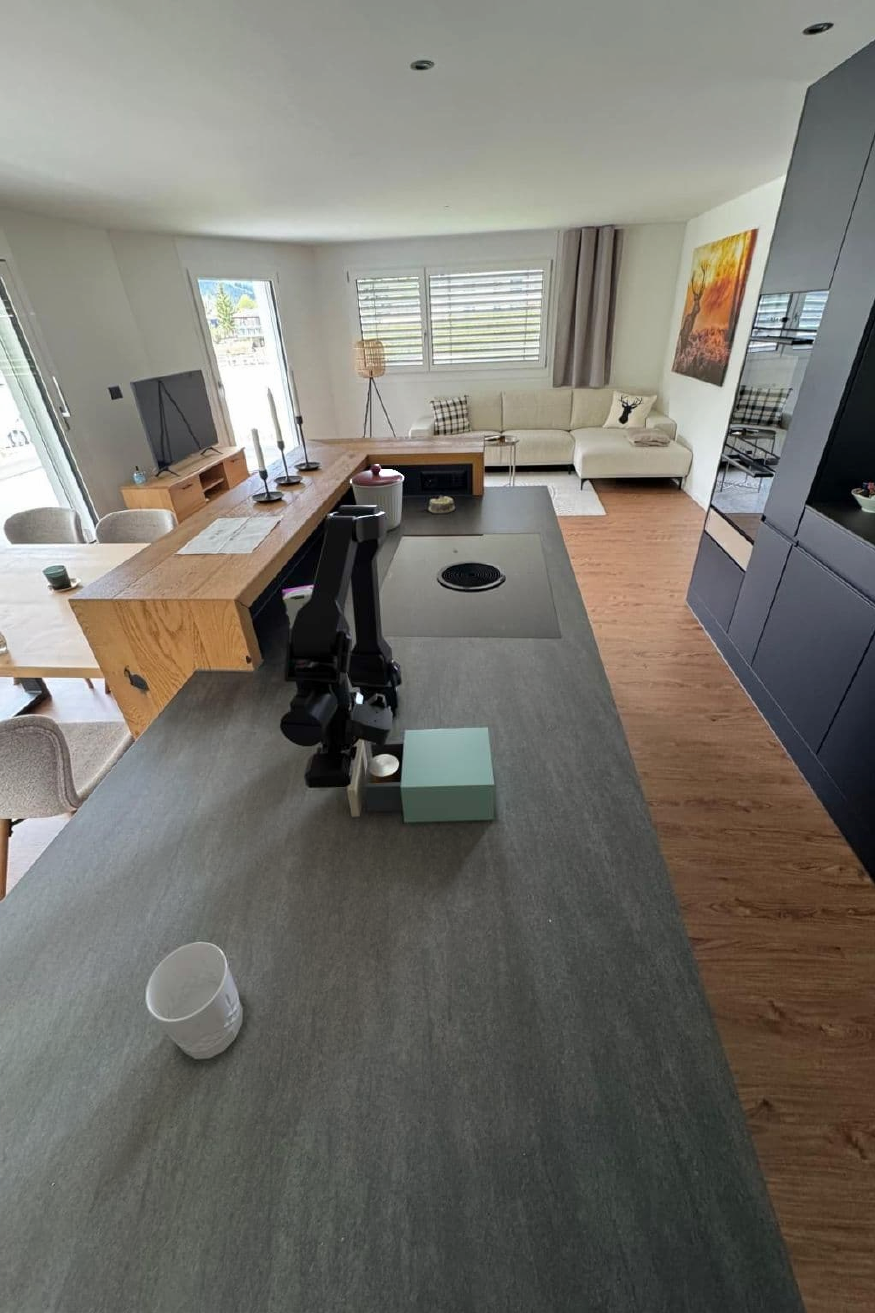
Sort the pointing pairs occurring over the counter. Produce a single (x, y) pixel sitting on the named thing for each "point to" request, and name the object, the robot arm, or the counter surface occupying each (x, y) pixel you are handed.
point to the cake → (441, 505)
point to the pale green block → (447, 775)
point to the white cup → (196, 999)
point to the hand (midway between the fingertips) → (344, 776)
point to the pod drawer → (376, 793)
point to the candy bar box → (295, 602)
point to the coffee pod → (384, 769)
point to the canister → (380, 492)
